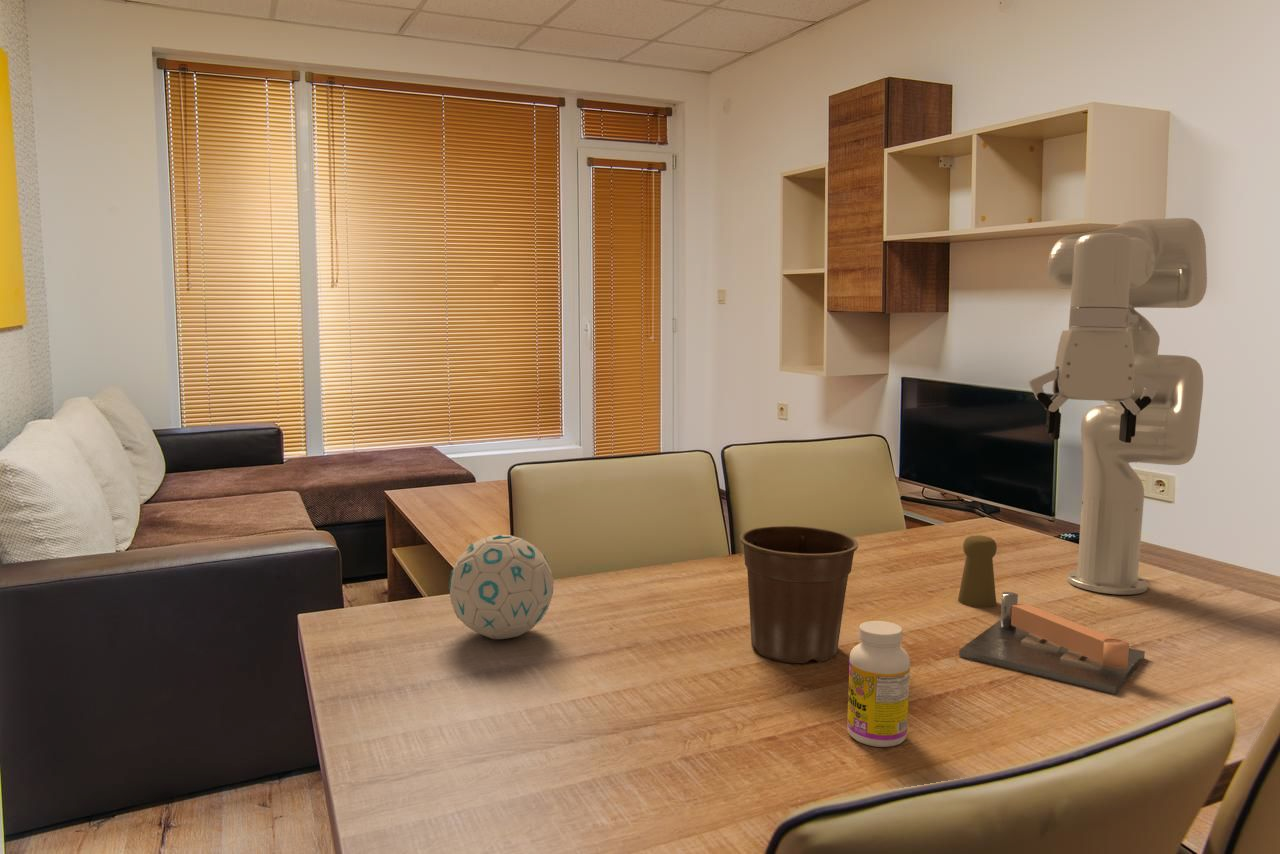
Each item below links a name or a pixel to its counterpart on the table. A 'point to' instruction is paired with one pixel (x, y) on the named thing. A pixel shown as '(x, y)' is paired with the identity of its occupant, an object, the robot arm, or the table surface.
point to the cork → (978, 572)
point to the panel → (1043, 655)
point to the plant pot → (797, 590)
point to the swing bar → (1071, 636)
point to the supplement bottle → (878, 686)
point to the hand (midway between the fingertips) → (1089, 440)
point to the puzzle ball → (501, 586)
